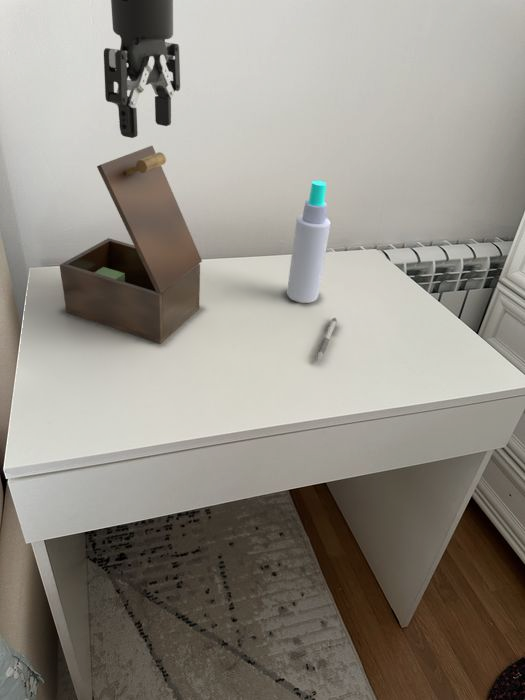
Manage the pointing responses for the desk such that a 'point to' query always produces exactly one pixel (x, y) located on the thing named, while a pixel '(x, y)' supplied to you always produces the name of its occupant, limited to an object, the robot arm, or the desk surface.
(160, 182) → the lid
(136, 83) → the robot arm
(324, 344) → the pen
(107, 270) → the block
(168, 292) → the chest
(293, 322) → the desk surface
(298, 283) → the spray bottle
